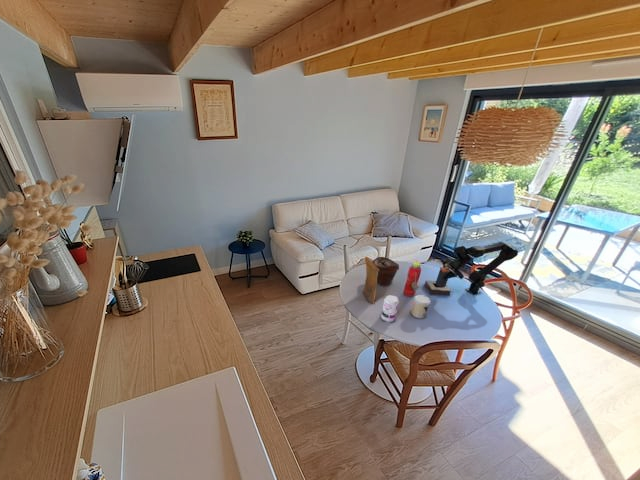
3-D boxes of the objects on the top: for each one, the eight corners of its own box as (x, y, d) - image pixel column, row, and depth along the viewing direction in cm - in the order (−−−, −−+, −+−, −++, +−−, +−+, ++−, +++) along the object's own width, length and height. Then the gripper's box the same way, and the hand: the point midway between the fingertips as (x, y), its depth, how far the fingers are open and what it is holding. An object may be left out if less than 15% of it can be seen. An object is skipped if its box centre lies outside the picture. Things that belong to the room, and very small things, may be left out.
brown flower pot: (373, 272, 226) (376, 252, 218) (398, 279, 216) (403, 259, 207) (364, 282, 214) (368, 261, 205) (391, 290, 204) (396, 268, 195)
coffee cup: (424, 320, 174) (429, 305, 168) (408, 315, 179) (412, 300, 173) (426, 312, 181) (431, 297, 175) (411, 308, 186) (415, 293, 180)
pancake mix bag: (367, 304, 189) (373, 268, 175) (359, 289, 206) (364, 254, 192) (377, 304, 189) (384, 268, 176) (368, 288, 206) (374, 254, 192)
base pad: (442, 285, 209) (443, 281, 207) (449, 295, 198) (451, 290, 196) (424, 285, 210) (425, 280, 208) (430, 294, 199) (432, 290, 197)
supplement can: (394, 315, 179) (399, 295, 172) (394, 323, 172) (399, 303, 165) (381, 312, 182) (385, 293, 174) (380, 320, 175) (384, 301, 167)
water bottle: (416, 301, 192) (425, 269, 180) (404, 299, 194) (412, 267, 182) (413, 291, 202) (422, 260, 190) (401, 290, 204) (409, 259, 192)
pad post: (441, 282, 199) (447, 267, 192) (445, 286, 195) (451, 270, 188) (434, 283, 199) (440, 267, 192) (438, 287, 195) (444, 271, 188)
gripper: (447, 248, 193) (427, 263, 198) (465, 261, 177) (443, 277, 182) (454, 258, 198) (435, 272, 202) (472, 271, 182) (451, 287, 186)
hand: (441, 277), depth 193 cm, fingers closed on pad post, 5 cm apart
